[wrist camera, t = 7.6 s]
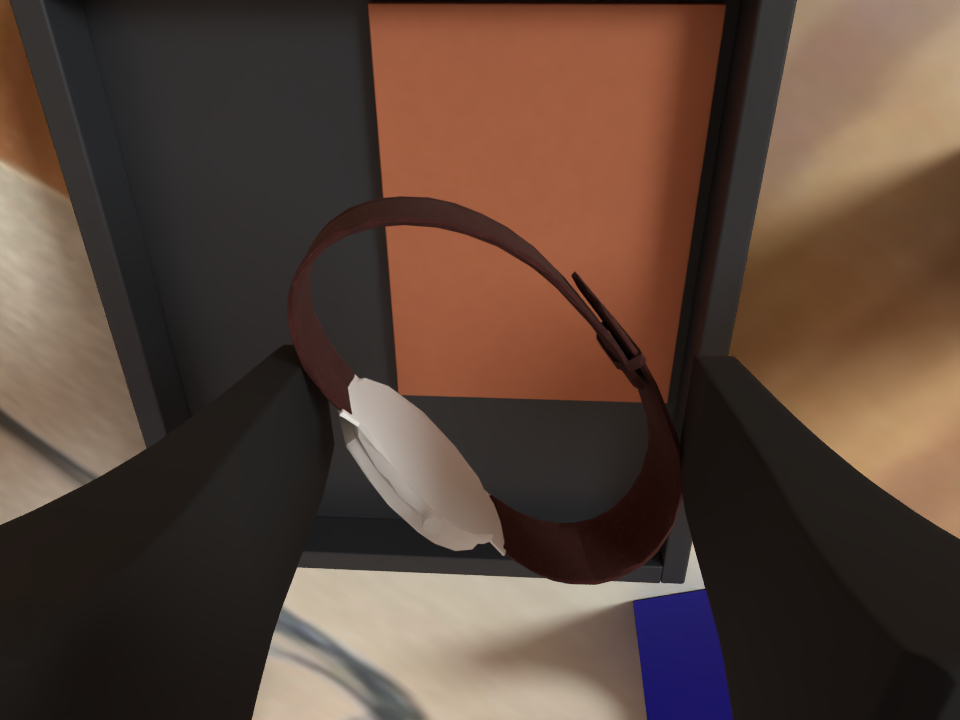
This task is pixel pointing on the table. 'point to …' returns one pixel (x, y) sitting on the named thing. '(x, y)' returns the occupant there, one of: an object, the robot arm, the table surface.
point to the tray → (341, 242)
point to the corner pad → (541, 184)
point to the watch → (436, 461)
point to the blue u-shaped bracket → (681, 658)
